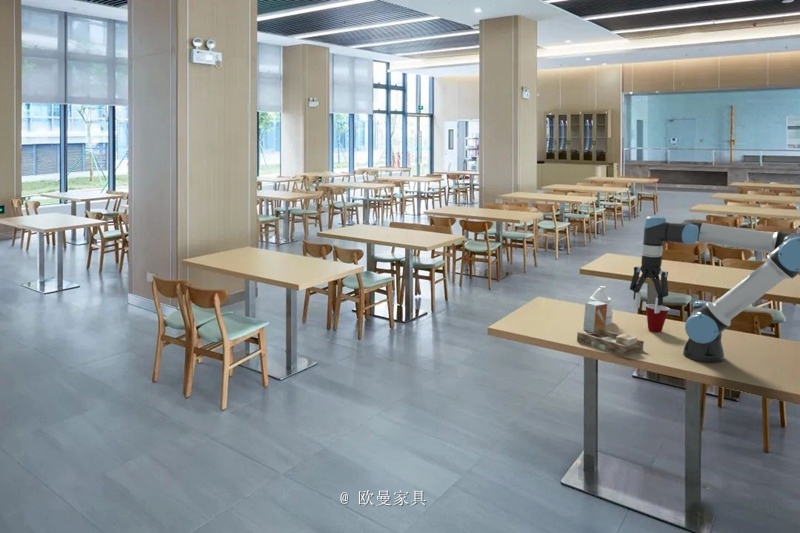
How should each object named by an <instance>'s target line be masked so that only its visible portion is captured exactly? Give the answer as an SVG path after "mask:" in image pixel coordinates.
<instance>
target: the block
mask: <svg viewBox="0 0 800 533" xmlns="http://www.w3.org/2000/svg"><path fill="white" fill-rule="evenodd" d="M637 339H638V337H637V336H635V335H629V334H627V333H624V334H620V335H619V336H616V343H618V344H622V345H625V346H627V349H630V348H633V347H636V346H637Z"/></svg>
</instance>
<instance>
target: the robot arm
mask: <svg viewBox="0 0 800 533" xmlns="http://www.w3.org/2000/svg"><path fill="white" fill-rule="evenodd" d="M666 220H667V219H666V217H664V216H656V215H653V216H652V215H651V216H647V217H646V218H645V223H644V226H643V227H644V228H643V230H644V231H643V242H642V250H641V251H642V252H641V253H642V255H641V266H635V267H633V274H632V275H633V276H632V278H631V281H630V282H631V283H630V286H629V290H630V291H633V300H634V309H636V310H637V309H640V308H641V297H642V292H641V289H642V287H643V286H644V284H645V282H646V281H647V279H651V280H652V282H653V285H654V289H655V291H656V294H657V295H656V297H655V303H654V304H655V311H654V313H660V306H663V305H664V304H663V303H664V298H667V297H668V296H669V285H668V274H669V272H668V271H664V270H662V268H661V267H662V262H663V257H662V255H663V251H664V243H676V244H677V243H678V244H685V245H695V244H696V243H697V242H701V243H708V244H714V245H718V246H719V245H720V246H726V247H732V248H736V249H744V250H749V251H756V252H762V253H767V255H766V256H767V258H766V261H765V262H764V263H763V264H761V265H760V266H758V267H757V268H756V269H755V270H753V271H752V272H751V273H750V274H748V275H747V276H746V277H745V278H743V279H742V280H741V281H740V282H738V283H737V284H736V285H735V286H733V287H731V289H729V290H728V291H727V292H725V293H724V294H723V295H722V296H720V297H719V298H718V299H716V300H715V301H714V302H713V301H705V300H695V301H694V302H693V304H692V313H691V314H690V316H688V317H687V319H686V320H685V327H684V328H685V332H686V333H685V334H686V335H687V337H688V339H687V341H686V343H685V346H684V347H683V353H682V354H683V356H684V357H687V358H689V359H691V360H694V361H696V362H697V361H698V362H704V363H720V362H723V361H724V359H725V352H724V347H723V343H722V336H723V332H724V331H725V330H726V329H728V328H729V327H730V326H731V322H732V321H731V320H733V319H734V318H735V317H736V316H737V315H739V314H740V313H742V312H743V311H744V310H746V309H747V308H748V307H750V306H751V305H753V303H755V302H756V301H758V300H759V299H760V298H762V297H763V296H764V295H765V294H767V293H768V292H769V291H771V290H772V289H773V288H775V287H776V286H777V285H779V284H780V283H781V282H782V281H784V280H785V279H789V280H791V279H792V280H793V279H794V278H795V277H796V276H798V275H800V233H799V232H784V231H776V232H767V231H766V232H765V231H760V230H752V229H746V228H745V229H744V228H738V227H732V226H727V225H719V224H714V223H713V224H712V223H707V222H706V223H705V222H699V221H695V220H692V219H684V220H682V221H681V222H679V223H675V222H673V223H672V222H667V221H666ZM640 273H642V274H641V275H640ZM659 275H660V276H659Z"/></svg>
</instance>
